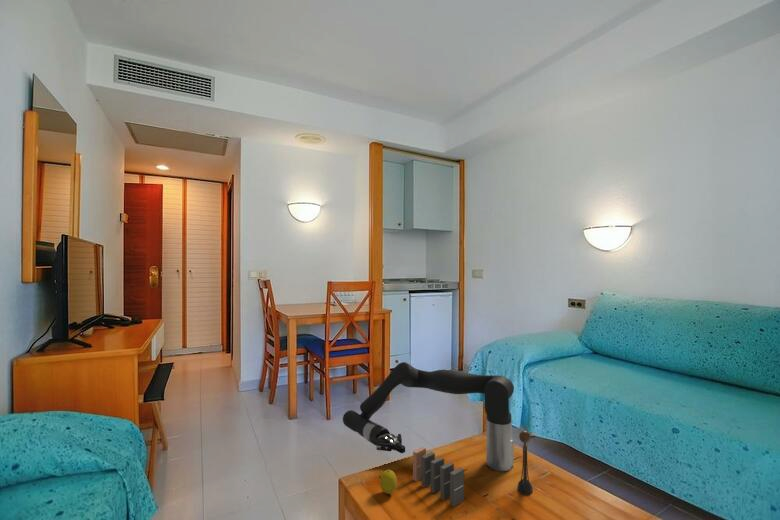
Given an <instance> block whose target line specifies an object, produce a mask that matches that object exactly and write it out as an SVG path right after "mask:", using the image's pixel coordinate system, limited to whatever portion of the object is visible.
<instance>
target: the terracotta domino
mask: <svg viewBox="0 0 780 520" xmlns="http://www.w3.org/2000/svg"><path fill="white" fill-rule="evenodd" d="M426 454H427V448H426V447H424V446H422V447H420V448H417V449H416V450H413V451H412V480H413V481H415V482H418V481H420V480H422V456H424V455H426Z"/></svg>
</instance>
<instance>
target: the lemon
mask: <svg viewBox="0 0 780 520" xmlns="http://www.w3.org/2000/svg"><path fill="white" fill-rule="evenodd" d="M379 481H380V484H379V485H380V489H381V490H382V491H383V492H384V494H385V493H386V494H387V495H390V494H392V493H393V492H394V491H395V490H396V489H397V486H398V485H397V483H398V480H397V476H396V473H395V472H394V471H393V470H391V469H386V470H384V471H383V472H382V474H381V476H380V480H379Z"/></svg>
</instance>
